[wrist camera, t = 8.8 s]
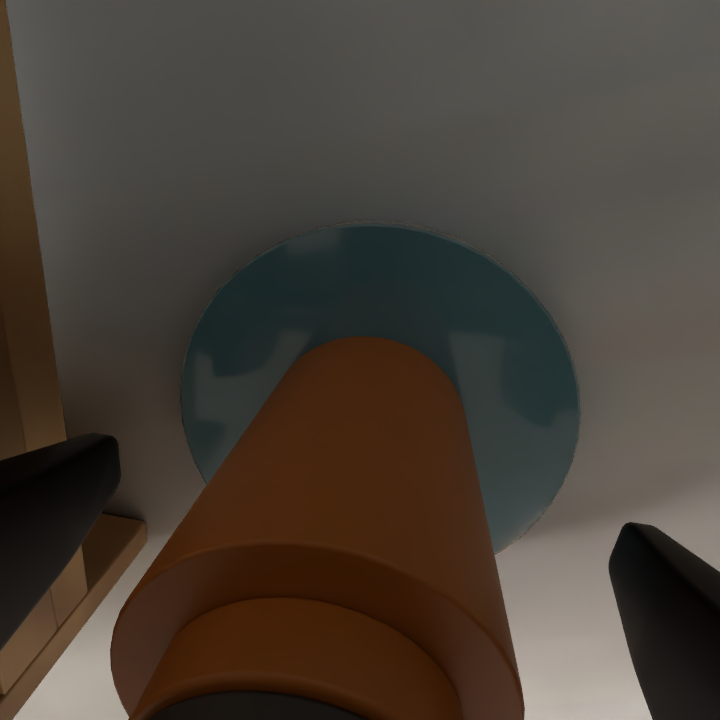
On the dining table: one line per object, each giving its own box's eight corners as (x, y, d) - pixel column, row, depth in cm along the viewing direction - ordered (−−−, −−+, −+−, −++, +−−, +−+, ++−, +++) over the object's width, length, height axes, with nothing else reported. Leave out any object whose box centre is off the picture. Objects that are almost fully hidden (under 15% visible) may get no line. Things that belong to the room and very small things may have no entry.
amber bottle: (446, 522, 11) (509, 1268, 3) (268, 491, 11) (-37, 1115, 4) (485, 351, 9) (761, 1038, 2) (276, 321, 10) (-227, 806, 2)
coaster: (517, 586, 12) (524, 611, 12) (197, 529, 13) (184, 550, 12) (623, 249, 9) (642, 255, 8) (190, 195, 10) (171, 195, 9)
